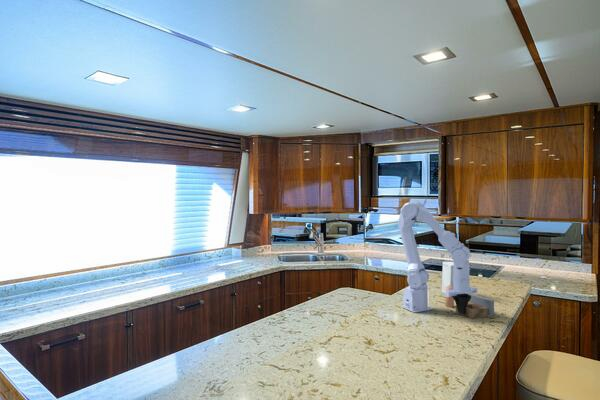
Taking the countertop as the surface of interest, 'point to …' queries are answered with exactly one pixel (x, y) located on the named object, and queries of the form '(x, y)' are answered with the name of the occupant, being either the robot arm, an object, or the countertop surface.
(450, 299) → the dowel
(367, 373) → the countertop surface
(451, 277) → the skincare box
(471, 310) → the block
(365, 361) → the countertop surface
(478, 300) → the backstop wall
